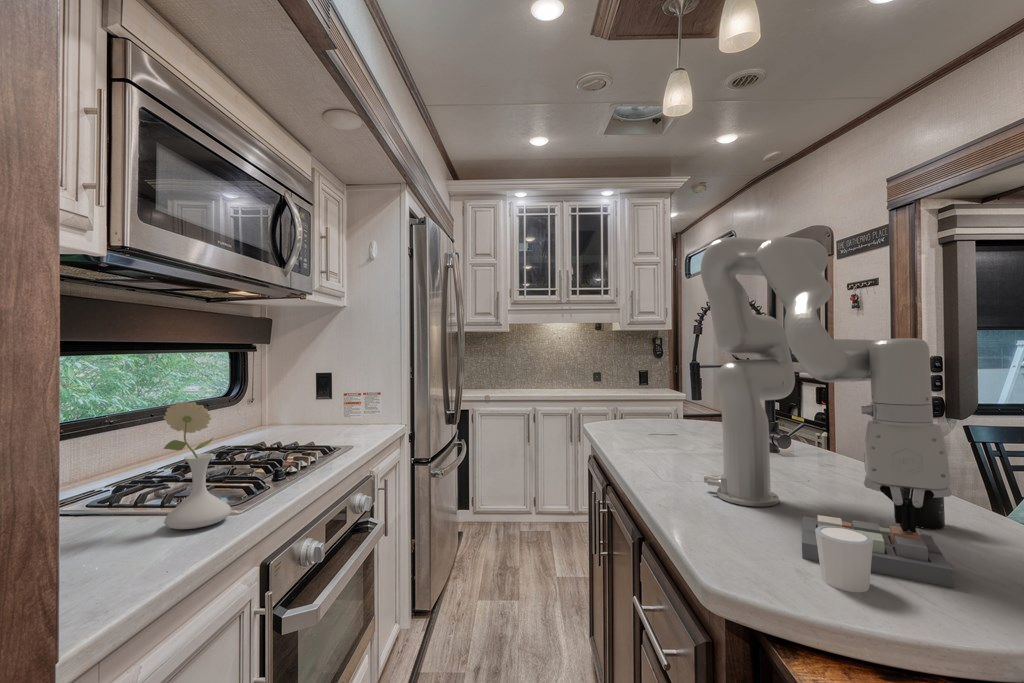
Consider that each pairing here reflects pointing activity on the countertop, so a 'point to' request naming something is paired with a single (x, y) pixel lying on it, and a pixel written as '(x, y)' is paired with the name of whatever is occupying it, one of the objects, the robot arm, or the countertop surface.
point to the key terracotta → (902, 534)
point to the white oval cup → (844, 557)
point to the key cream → (829, 521)
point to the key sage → (876, 542)
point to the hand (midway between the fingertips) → (907, 529)
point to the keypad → (891, 554)
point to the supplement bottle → (928, 511)
